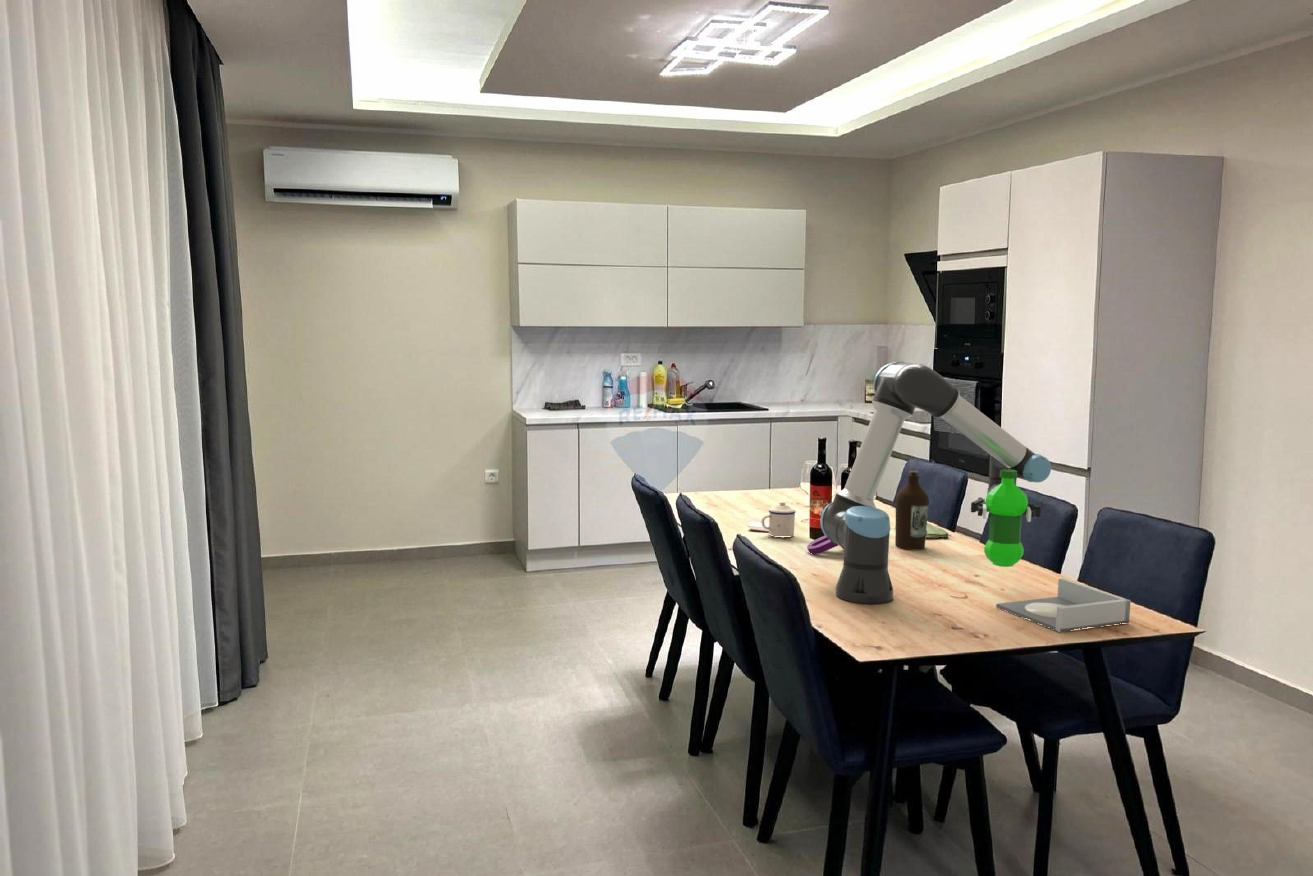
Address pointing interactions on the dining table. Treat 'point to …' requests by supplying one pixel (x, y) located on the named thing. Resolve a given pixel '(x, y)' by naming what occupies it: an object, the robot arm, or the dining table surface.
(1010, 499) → the plastic bottle
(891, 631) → the dining table surface
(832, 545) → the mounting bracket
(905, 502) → the olive oil
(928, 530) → the washcloth
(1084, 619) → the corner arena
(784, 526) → the teacup with lid
